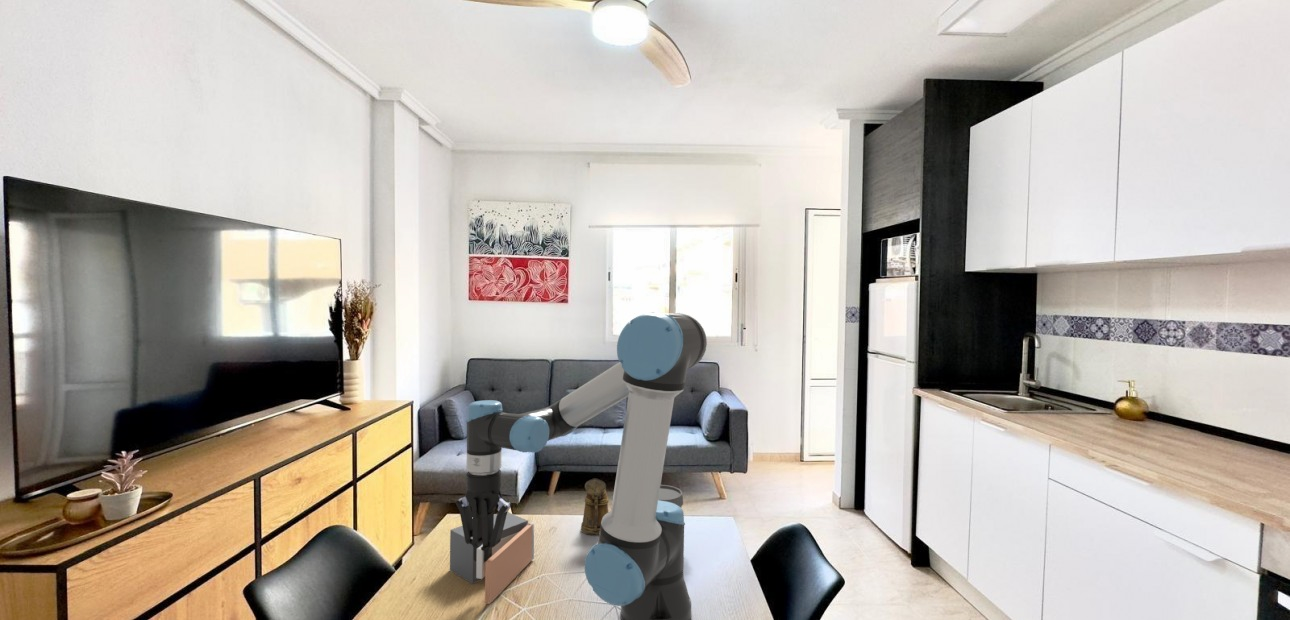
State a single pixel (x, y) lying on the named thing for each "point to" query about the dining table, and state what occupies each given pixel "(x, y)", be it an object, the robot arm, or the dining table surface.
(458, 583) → the dining table surface
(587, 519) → the bronze figurine
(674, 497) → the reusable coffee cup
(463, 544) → the case
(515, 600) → the dining table surface
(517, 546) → the side door
